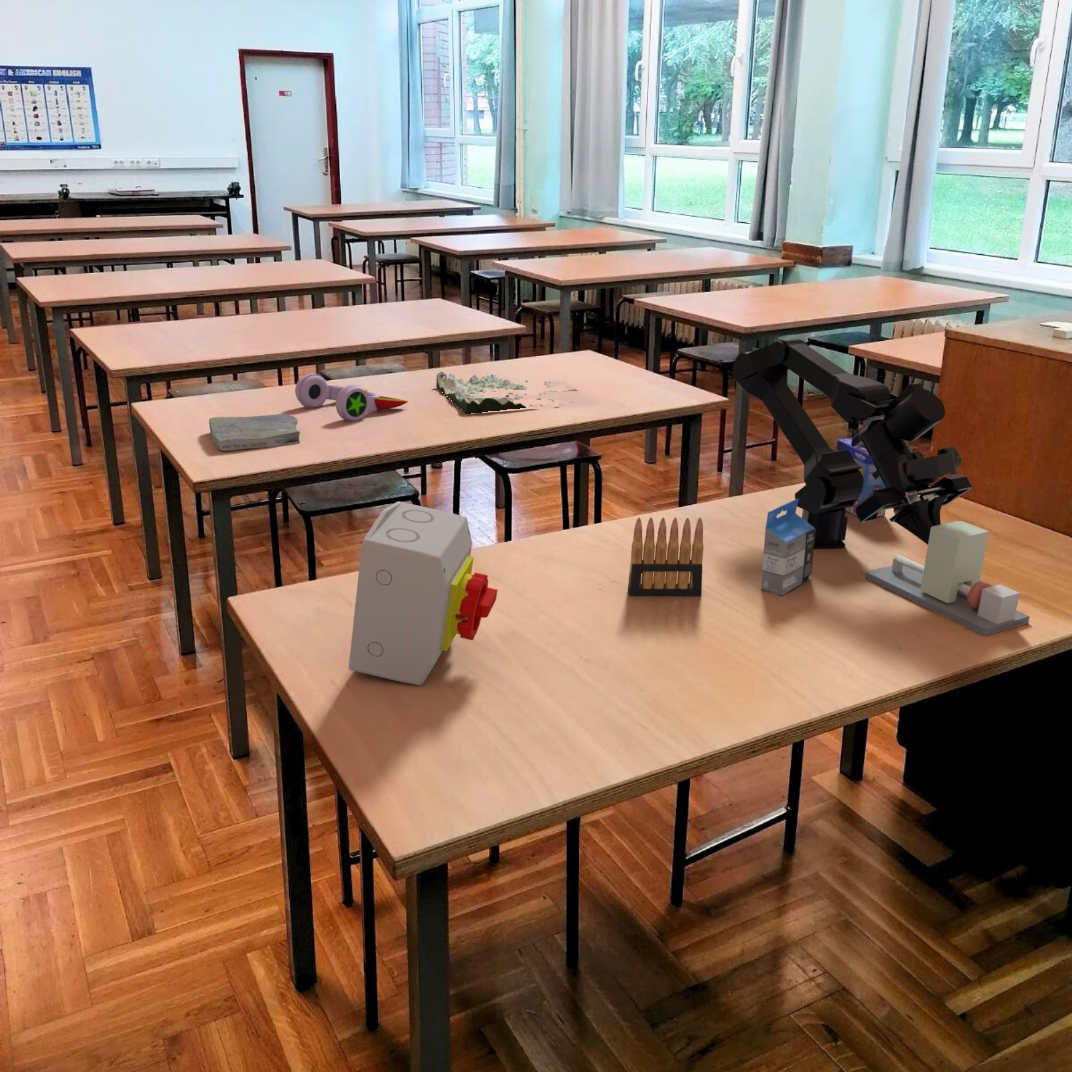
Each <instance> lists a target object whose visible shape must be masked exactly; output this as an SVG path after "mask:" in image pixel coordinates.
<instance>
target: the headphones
mask: <svg viewBox="0 0 1072 1072" xmlns="http://www.w3.org/2000/svg"><path fill="white" fill-rule="evenodd" d="M294 393H295V397H296V399H297V401H298V402H299V403H300V404H301V405H302V406H303V407H305V408H306V409H307V408H308V409H312V408H318V407H319V408H320V407H321V406H322V405H324V403H325V402H326V401H327V400H331V401H332V400H333V401H335V408H336V412H337V414H338V415H339V417H340V418H341V419H343V420H344V421H347V422H352V421H358V420H359V421H360V420H361V419H363V418H364V417H365V416H366V414H368V412H369V413H370V412H378V410H389V409H394V408H395V409H396V408H398V407H402V406H404V405H405V404H407V403H409V401H408V400H405V399H401V398H395V397H390V396H385V395H379V394H377V393H375V392H372V391H368V390H367V389H366V388H363V387H361V386H360V385H356V384H348V385H345V386H339V385H331V384H328V382H327V380H326V379H325V378H324V377H323V376H322V375H321V374H318V373H314V372H313V373H308V374H304V375H303V376H301V377H300V378H299V379H298V381H297V382H296V385H295V388H294Z"/></svg>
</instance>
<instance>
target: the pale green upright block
mask: <svg viewBox="0 0 1072 1072" xmlns="http://www.w3.org/2000/svg"><path fill="white" fill-rule="evenodd" d="M988 538H989V530H986V529H984V528H981V527H979V526H976V525H974V524H971V523H969V522H965V521H963V520H955V521H951V522H947V523H942V524H941V525H937V526H932V527H931V530H930V536H929V542H928V545H927V549H926V555H925V560H924V565H923V566H924V572H923V578H922V584H921V589H920V591H922V592H925V593H927V594H929V595H931V596H933V597H935V598H937V599H939V600H941V601H944V602H946V603H952V602H955V601H956V597H957V592H958V593H960V594H962V595H964V596H966V597H967V596H968V595H967V594H965V593H962V592H960V591H958V586H959V583H963V584H965V585H967V586H970V587H972V586H973V585H974V584H975V583H977V582H979V581H980V580H981V575H982V570H983V564H984V559H985V553H986V550H987V549H986V548H987V544H988V540H989V539H988Z"/></svg>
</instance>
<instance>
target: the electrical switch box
mask: <svg viewBox="0 0 1072 1072" xmlns="http://www.w3.org/2000/svg"><path fill="white" fill-rule="evenodd" d="M472 540H473V539H472V536H471V532H470V526H469V521H468V518H467V517H466V516H463V515H460V514H456V513H454V512H453V513H452V512H448V511H444V510H439V509H435V508H430V507H425V506H421V505H416V504H412V503H408V502H402V501H396V502H395V503H393V504H391V505H390V506H387V507H385V508H384V509H382V511H381V512H380V514H379V515H378V517H377V518H376V520H375V522H373V524H372V526H371V527H370V529H369V531H368V532H367V533H366V535H365V537H364V538H363V540H362V542H361V549H360V556H359V557H360V559H359V566H358V576H357V577H358V578H357V584H356V586H357V587H356V595H355V604H354V614H353V624H352V631H351V634H352V635H351V642H350V649H349V650H350V652H349V653H350V654H349V658H348V660H349V662H348V670H349V671H354V672H358V673H362V674H364V675H365V674H366V675H370V676H373V677H374V676H375V677H378V678H382V679H387V680H392V681H395V682H400V683H405V684H410V685H416V686H422V685H423V684H424V683H425V681H426V680H427V678H428V676H429V674H430V673H431V671H432V670H433V668H434V666H435V665H436V663H437V661H438V659H439V657H440V656H441V655H442V652H443V651H444V652H448V650H449V648H450V646H451V644H452V642H453V641H454V639H455V637H456V636H457V635H459V637H460V638H461V639H465V640H468V641H473V640H474V639H475V636H476V634H478V630H479V627H480V625H481V620H482V618H483V619H484V618H488V617H489V615H490V613H491V611H492V609H493V607H494V605H495V602H496V600H497V595H498V589H497V588H493V587H492V588H491V587H489V579H488V577H489V576H488V574H485V573H480V572H474V573H473V572H472V571H473V565H474V558H475V557H474V556H471V553H472V548H473V541H472ZM472 573H473V574H472Z"/></svg>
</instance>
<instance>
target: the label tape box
mask: <svg viewBox="0 0 1072 1072" xmlns="http://www.w3.org/2000/svg"><path fill="white" fill-rule="evenodd" d="M798 501H799V499H796V500H795V499H794V500H791V501H789V502H787V503H785V504H782V505H780V506H778V507H776V508H774V509H771V510H770V511H768V512H767V514H766V516H767V517H766V523H765V528H764V529H765V532H764V542H763V543H764V544H763V557H762V570H761V582H760V583H761V585H760V589H761V590H764V591H766V592H769V593H772V594H776V595H781V596H784V595H785V594H788V593H789V592H791V590H793V589H795V588H797V587H798V586H800V585H802V584H803V583H805V582H807V581H808V580H810V579H811V578H812V573H813V571H812V570H813V559H814V549H815V548H814V540H815V528H814V527H813V526H812V525H810V524H809V523H808V522H806V521H805V520H804V519H803V518H802V516H800V515H798V514H797V508H798V507H797V504H798ZM782 512H786V513H785V514H782ZM779 514H782V515H781V516H778V515H779ZM777 516H778V517H777Z"/></svg>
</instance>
